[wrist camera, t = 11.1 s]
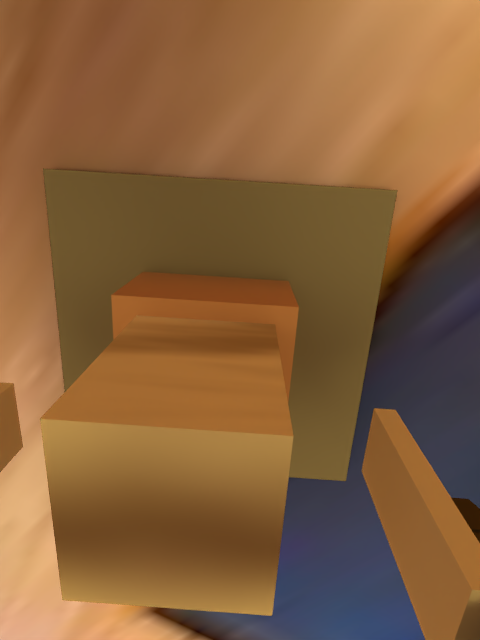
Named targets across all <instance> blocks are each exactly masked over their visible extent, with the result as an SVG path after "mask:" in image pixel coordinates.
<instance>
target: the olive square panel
mask: <svg viewBox="0 0 480 640" xmlns="http://www.w3.org/2000/svg"><path fill="white" fill-rule="evenodd" d="M43 174H44V184H45V194H46V205H47V215H48V225H49V236H50V246H51V256H52V266H53V277H54V287H55V297H56V307H57V318H58V328H59V338H60V348H61V359H62V369H63V379H64V389H65V392H66V391H67V389H68V388H69V387H70V386H71V385H72V384H73V383H74V382H75V381H76V380H77V379H78V378H79V377H80V375H81V374H82V373H83V372H84V371H85V370H86V369H87V368H88V367H89V366H90V365H91V364H92V363H93V362H94V360H95V359H96V358H97V357H98V356H99V355H100V354H101V353H102V352H103V351H104V350H105V349H106V348H107V347H108V345H109V344H110V343H111V342H112V341H113V320H112V300H111V295H112V294H113V293H115V292H116V291H117V290H119V289H120V288H121V287H123V286H124V285H126V284H127V283H128V282H130V281H131V280H132V279H134V278H135V277H136V276H138V275H139V274H140V273H142V272H155V273H171V274H187V275H202V276H218V277H233V278H249V279H265V280H280V281H289V283H290V286H291V289H292V291H293V294H294V296H295V299H296V301H297V304H298V306H299V311H298V320H297V328H296V337H295V346H294V355H293V364H292V373H291V382H290V391H289V400H288V406H289V412H290V418H291V424H292V430H293V444H292V453H291V461H290V469H289V477H296V478H311V479H325V480H339V481H346V476H347V470H348V465H349V459H350V454H351V448H352V442H353V437H354V431H355V426H356V420H357V414H358V409H359V403H360V398H361V392H362V386H363V381H364V375H365V369H366V364H367V358H368V353H369V347H370V341H371V336H372V330H373V325H374V319H375V313H376V308H377V302H378V297H379V291H380V285H381V280H382V274H383V269H384V263H385V257H386V252H387V246H388V241H389V235H390V229H391V224H392V218H393V213H394V207H395V201H396V196H397V190H385V189H368V188H352V187H336V186H319V185H303V184H287V183H270V182H254V181H238V180H221V179H205V178H189V177H172V176H156V175H140V174H123V173H107V172H91V171H74V170H58V169H43Z"/></svg>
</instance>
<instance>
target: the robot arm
mask: <svg viewBox="0 0 480 640" xmlns="http://www.w3.org/2000/svg"><path fill="white" fill-rule="evenodd" d="M22 447H23V444H22V437H21V430H20V424H19V417H18V410H17V404H16V397H15V390H14V384H13V383H0V472H1V471H2V470H3V468H4V467H5V466H6V465H7V464H8V463H9V462H10V461H11V459H12V458H13V457H14V456H15V455H16V454H17V453H18V452H19V450H20V449H21V448H22ZM362 473H363V476H364V478H365V481H366V484H367V486H368V489H369V492H370V494H371V497H372V499H373V502H374V505H375V507H376V510H377V513H378V515H379V518H380V521H381V523H382V526H383V529H384V531H385V534H386V536H387V539H388V542H389V544H390V547H391V550H392V552H393V555H394V558H395V560H396V563H397V566H398V568H399V571H400V573H401V576H402V579H403V581H404V584H405V587H406V589H407V592H408V595H409V597H410V600H411V603H412V605H413V608H414V611H415V613H416V616H417V618H418V621H419V624H420V626H421V629H422V632H423V634H424V637H425V640H480V509H479V508H478V507H477V506H476V505H475V504H473V503H472V502H471V501H470V500H469V499H461V498H451V497H450V496H449V494H448V492H447V491H446V489H445V488H444V486H443V484H442V483H441V481H440V480H439V478H438V477H437V475H436V473H435V472H434V470H433V469H432V467H431V465H430V464H429V462H428V461H427V459H426V458H425V456H424V454H423V453H422V451H421V450H420V448H419V447H418V445H417V443H416V442H415V440H414V439H413V437H412V435H411V434H410V432H409V431H408V429H407V428H406V426H405V424H404V423H403V421H402V420H401V418H400V416H399V415H398V413H397V412H396V410H390V409H376V408H374V411H373V416H372V421H371V426H370V431H369V436H368V441H367V446H366V451H365V457H364V462H363V467H362Z"/></svg>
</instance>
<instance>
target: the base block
mask: <svg viewBox="0 0 480 640" xmlns="http://www.w3.org/2000/svg"><path fill="white" fill-rule="evenodd" d="M111 300H112V320H113V340H114V339H115V338H116V337H117V336H118V335H119V334H120V333H121V332H122V330H123V329H124V328H125V327H126V326H127V325H128V324H129V323H130V322H131V321H132V320H133V319H134V318H135V316H136V315H138V316H154V317H169V318H184V319H200V320H215V321H230V322H246V323H261V324H275V327H276V333H277V340H278V346H279V352H280V358H281V364H282V370H283V376H284V382H285V388H286V394H287V400H289V391H290V382H291V373H292V364H293V355H294V346H295V337H296V328H297V320H298V311H299V306H298V304H297V301H296V299H295V296H294V294H293V291H292V289H291V286H290V283H289V281H280V280H265V279H249V278H233V277H218V276H202V275H187V274H171V273H155V272H142V273H140V274H139V275H138V276H136V277H135V278H134V279H132V280H131V281H130V282H128V283H127V284H126V285H124V286H123V287H121V288H120V289H119V290H117V291H116V292H115V293H113V294H112V295H111Z"/></svg>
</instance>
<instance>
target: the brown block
mask: <svg viewBox="0 0 480 640" xmlns="http://www.w3.org/2000/svg"><path fill="white" fill-rule="evenodd" d="M40 422H41V430H42V438H43V447H44V455H45V463H46V471H47V479H48V487H49V495H50V503H51V511H52V519H53V527H54V536H55V544H56V552H57V560H58V568H59V576H60V584H61V592H62V600H67V601H81V602H94V603H108V604H121V605H135V606H148V607H162V608H175V609H189V610H202V611H216V612H229V613H243V614H256V615H270V616H272V611H273V602H274V594H275V586H276V578H277V569H278V561H279V553H280V544H281V536H282V528H283V519H284V511H285V503H286V494H287V486H288V478H289V469H290V461H291V453H292V444H293V430H292V424H291V418H290V412H289V406H288V400H287V394H286V388H285V382H284V376H283V370H282V364H281V358H280V352H279V346H278V340H277V333H276V327H275V324H261V323H246V322H230V321H215V320H200V319H184V318H169V317H154V316H138V315H136V316H135V318H134V319H133V320H132V321H131V322H130V323H129V324H128V325H127V326H126V327H125V328H124V329H123V330H122V332H121V333H120V334H119V335H118V336H117V337H116V338H115V339H114V340H113V341H112V342H111V343H110V344H109V345H108V347H107V348H106V349H105V350H104V351H103V352H102V353H101V354H100V355H99V356H98V357H97V358H96V359H95V360H94V362H93V363H92V364H91V365H90V366H89V367H88V368H87V369H86V370H85V371H84V372H83V373H82V374H81V375H80V377H79V378H78V379H77V380H76V381H75V382H74V383H73V384H72V385H71V386H70V387H69V388H68V389H67V391H66V392H65V393H64V394H63V395H62V396H61V397H60V398H59V399H58V400H57V401H56V402H55V403H54V404H53V406H52V407H51V408H50V409H49V410H48V411H47V412H46V413H45V414H44V415H43V416H42V417H41V418H40Z"/></svg>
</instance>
